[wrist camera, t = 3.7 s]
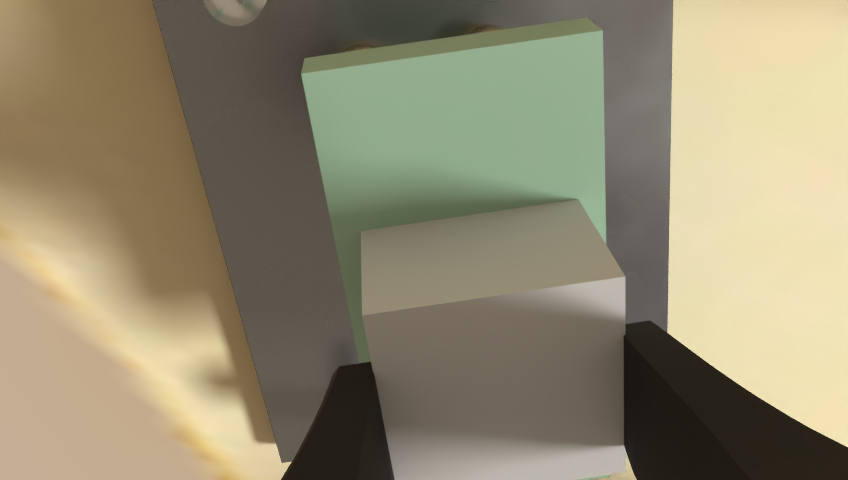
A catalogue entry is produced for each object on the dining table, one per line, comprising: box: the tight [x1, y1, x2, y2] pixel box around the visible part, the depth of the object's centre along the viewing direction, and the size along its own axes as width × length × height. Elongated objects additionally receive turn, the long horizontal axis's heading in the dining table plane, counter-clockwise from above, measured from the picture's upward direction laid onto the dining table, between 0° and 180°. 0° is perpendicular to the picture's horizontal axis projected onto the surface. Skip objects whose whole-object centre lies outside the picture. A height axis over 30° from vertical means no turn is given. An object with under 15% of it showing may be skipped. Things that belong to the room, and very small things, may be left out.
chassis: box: [152, 0, 673, 463], centre depth 20 cm, size 16×12×4 cm
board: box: [301, 18, 626, 480], centre depth 14 cm, size 10×5×4 cm, turn 7°
